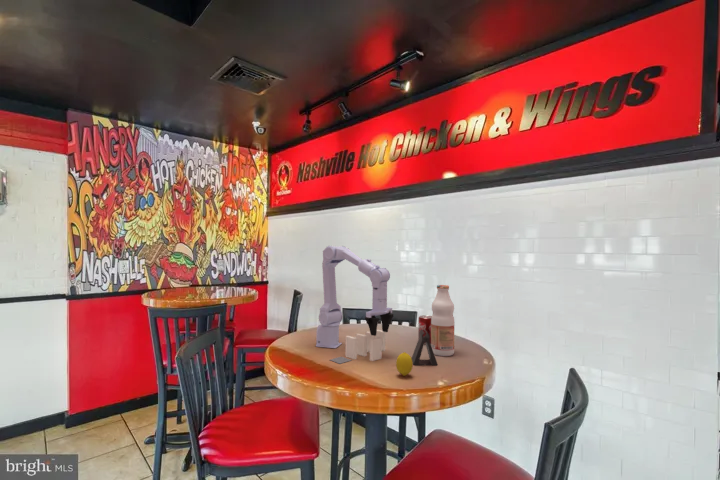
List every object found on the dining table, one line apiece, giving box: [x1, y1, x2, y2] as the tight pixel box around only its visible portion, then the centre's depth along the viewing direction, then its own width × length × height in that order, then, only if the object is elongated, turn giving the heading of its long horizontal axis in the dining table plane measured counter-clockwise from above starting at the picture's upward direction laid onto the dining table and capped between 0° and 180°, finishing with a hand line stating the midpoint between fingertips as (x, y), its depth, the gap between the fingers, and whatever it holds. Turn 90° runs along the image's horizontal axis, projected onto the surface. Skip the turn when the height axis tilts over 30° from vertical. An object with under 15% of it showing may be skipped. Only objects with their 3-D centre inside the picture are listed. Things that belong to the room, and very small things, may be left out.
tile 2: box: [364, 331, 377, 354], centre depth 148 cm, size 2×5×8 cm, turn 44°
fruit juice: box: [431, 284, 455, 357], centre depth 148 cm, size 9×9×28 cm
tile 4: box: [344, 335, 358, 360], centre depth 140 cm, size 2×5×8 cm, turn 44°
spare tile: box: [369, 337, 383, 362], centre depth 138 cm, size 2×5×8 cm, turn 134°
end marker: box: [329, 356, 353, 365], centre depth 137 cm, size 6×6×1 cm
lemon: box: [395, 351, 414, 377], centre depth 121 cm, size 6×6×8 cm
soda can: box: [417, 314, 432, 346], centre depth 163 cm, size 7×7×12 cm
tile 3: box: [355, 333, 368, 357], centre depth 144 cm, size 2×5×8 cm, turn 44°
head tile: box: [376, 329, 386, 352], centre depth 152 cm, size 2×5×8 cm, turn 44°
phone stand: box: [411, 329, 439, 367], centre depth 135 cm, size 9×6×12 cm, turn 89°
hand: (379, 333), depth 141 cm, fingers open, 7 cm apart
